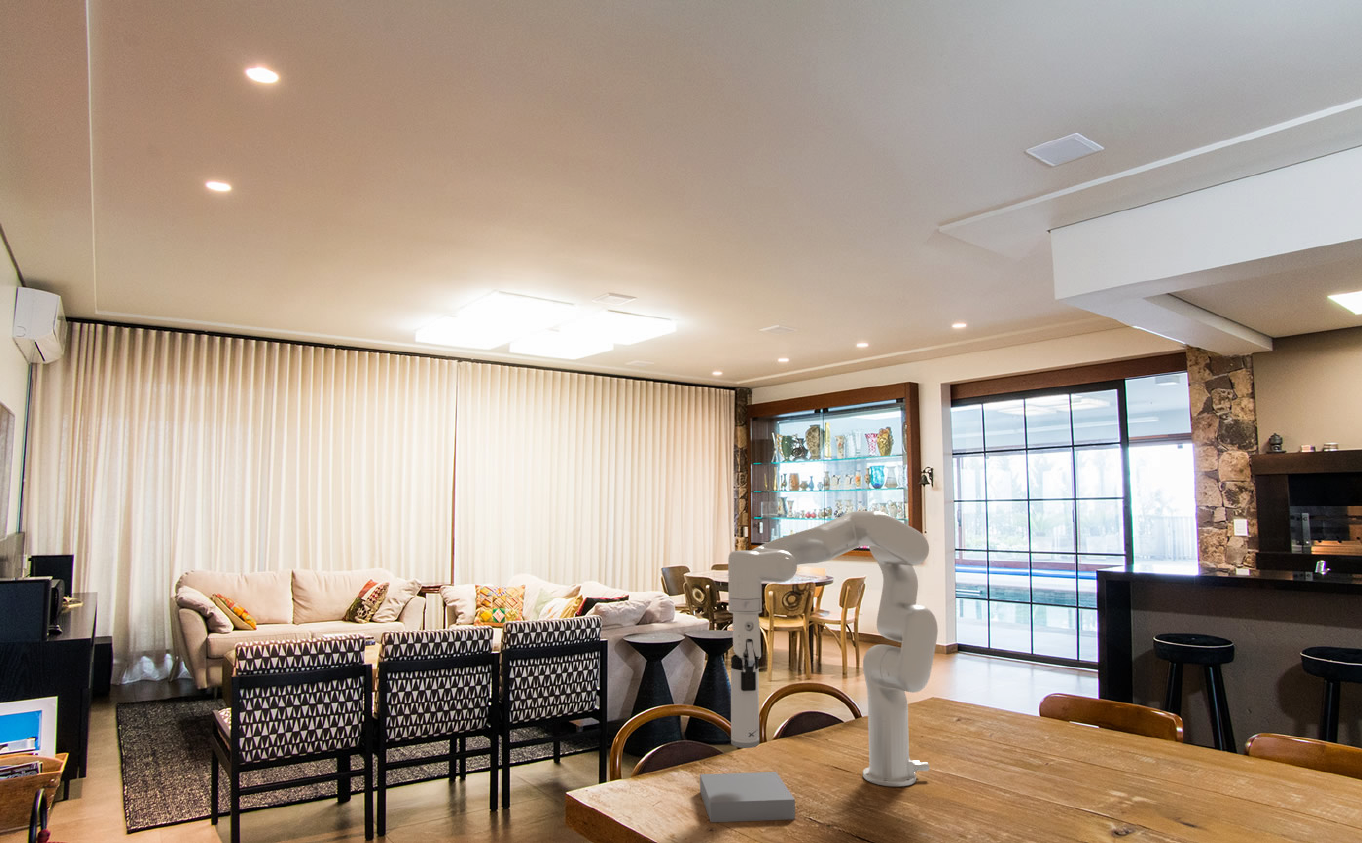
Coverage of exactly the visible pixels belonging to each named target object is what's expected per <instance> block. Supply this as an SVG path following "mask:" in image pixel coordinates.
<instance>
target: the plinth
mask: <svg viewBox="0 0 1362 843" xmlns="http://www.w3.org/2000/svg"><path fill="white" fill-rule="evenodd" d="M699 793H700V797H701V798H702V801H703V804H704V807H705V811H706V813H707V815H708V819H709V821H710V823H726V822H727V823H729V822H731V823H733V822H753V821H754V822H756V821H782V820H787V821H788V820H796V799H795V797H794V796H793V794H792V793H791V792H790V790H789V788H788V787H787V786H786V784H785V783H784V781H783V779H782V778H781V777H780V775H779V774H778V772H777V771H766V772H765V771H764V772H763V771H761V772H759V771H757V772H729V773H728V772H727V773H702V774H701V773H699Z"/></svg>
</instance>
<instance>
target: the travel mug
mask: <svg viewBox="0 0 1362 843" xmlns="http://www.w3.org/2000/svg"><path fill="white" fill-rule="evenodd" d="M744 657H748V656H744ZM754 658H755V672H756V690H755V691H742V690H741V672H742V659H741V658H739V657H738V656H737V655H736V654H733V655H732V656H731V657H730V663H731V664H730V743H731V745H732V746H733V747H736V748H740V749H751V748H756V747H757V746H759V745H760V693H759V691H760V689H759V688H760V686H759V685H760V681H759V679H760V678H759V677H760V676H759V675H760V672H759V668H760V667H759V659H757V658H756V656H754ZM745 663H746V661H745Z"/></svg>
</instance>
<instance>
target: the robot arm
mask: <svg viewBox="0 0 1362 843" xmlns="http://www.w3.org/2000/svg"><path fill="white" fill-rule="evenodd" d="M860 547H868V548H869V551H870V554H871V556H872V557H873V558H874V560H875V561H876V563H877V564H878V566H879V567H880V568H879V569H880V570H881V574H882V578H883V581H882V582H883V583H882V591H881V595H880V596H881V598H880V602H879V607H878V611H877V612H878V613H877V618H876V628H877V629H876V630H877V632H878V633H879V634H880V636H882V637H884V638H885V639H887V640H891V641H894V642H898V643H901V646H900V647H899V646H894V645H889V644H883V643H882V644H876V645H872V646H871V647H869V649H868V650H866V652H865V654H864V655H863V660H862V671H863V675H864V680H865V685H866V693H867V722H868V726H867V727H868V729H867V730H868V763H869V764H868V767H865V768H863V770H862V777H863V778H864V779H865V781H868V782H869V783H871V784H876V785H880V786H885V787H905V786H906V787H907V786H911V785H913V784H915V783H916V782H917V774H916V773H917V772H929V771H930V764H929V763H928V762H927V761H926V762H920V760H912V759H911V758H910V746H909V744H910V742H909V708H908V707H909V704H908V699H907V694H906V693H910V694H911V693H912V694H913V693H918V692H920V691H922V690H924V688H925V687H926V686H927V685H928V682H929V680H930V677H931V675H932V674H931V673H932V668H933V663H934V657H935V652H936V646H937V640H938V633H939V632H938V631H939V630H938V622H937V619H936V616H935V615H934V613H933V612H932V610H930V608H927V607H925V606H923V605H919V604H917V599H918V598H917V597H918V590H919V583H918V582H919V581H918V577H917V576H918V575H917V573H916V570H915V568H914V566H918V565H921V564H922V563H924V562H925V561H926V559H927V557H928V555H929V551H930V546H929V542H928V540H927V538H926V537H925V535H924V534H923V533H922V532H920V531H919V530H917V529H916V528H914V527H912V526H910V525H908V524H906V523H905V522H903V521H901V520H899V519H897V518H895V517H893V516H891V515H889V514H887V513H885V512H881V511H876V510H855V511H851V512H847V513H846V514H843V515H841V516H839V517H837V518H834V519H831V520H829V521H827V522H824V523H822V524H820V525H817V526H815V527H813V528H812V527H811V528H809V529H808V528H807V529H806V530H801V531H799V532H795V533H791V534H789V535H785V536H782V537H778V538H776V539H773V540H772V539H771V540H770V541H767V542H766V543H763V544H761V545H758V546H757V547H755V548H754V547H753V549H751V550H744V549H743V550H742V549H741V550H733V551H731V552H730V553H729V555H728V559H727V560H728V563H727V565H728V576H727V577H728V581H727V582H728V588H727V589H728V593H727V594H728V613H730V614H732V649H733V653H734V655H737V656H738V657H739V658H741V659H742V672H741V690H742V691H755V690H756V672H755V658H754V656H756V658H757V659H758V660H759V659H760V658H761V657H762V646H761V627H760V626H761V625H760V618H759V617H760V616H759V614H761V613H762V612H763V610H762V608H763V605H762V602H763V600H762V593H763V592H762V583H763V582H770V583H777V584H778V583H779V584H780V583H786V582H788V581H790V580H791V579H792V578H794V576H795V575H796V573H797V569H798V565H807V564H818V563H824V562H829V561H831V560H833V559H835V558H838V557H840V556H842V555H844V554H846V553H849V552H851V551H853V550H854V549H855V550H856V549H858V548H860ZM744 656H748V657H744ZM745 661H746V663H745Z"/></svg>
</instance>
